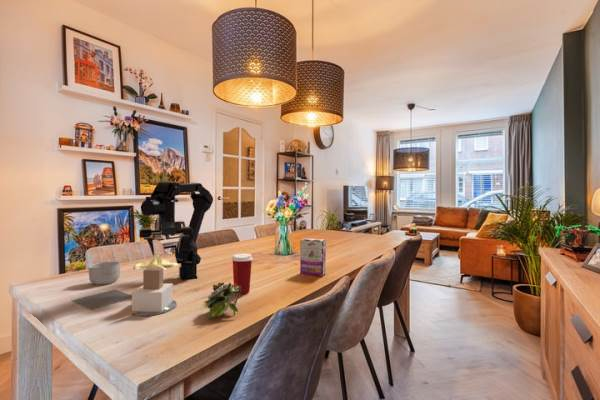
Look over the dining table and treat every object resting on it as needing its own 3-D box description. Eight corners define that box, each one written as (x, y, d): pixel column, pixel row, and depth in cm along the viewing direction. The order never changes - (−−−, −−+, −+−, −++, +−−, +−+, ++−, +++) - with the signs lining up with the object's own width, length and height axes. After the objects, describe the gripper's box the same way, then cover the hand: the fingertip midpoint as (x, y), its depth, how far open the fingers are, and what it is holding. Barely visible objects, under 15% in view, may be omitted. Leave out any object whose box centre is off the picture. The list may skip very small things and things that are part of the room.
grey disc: (173, 297, 107) (173, 286, 107) (179, 311, 95) (179, 298, 95) (128, 303, 100) (128, 292, 100) (128, 319, 88) (128, 306, 88)
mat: (115, 291, 112) (115, 289, 112) (136, 298, 105) (136, 297, 105) (70, 302, 100) (70, 300, 100) (91, 311, 93) (91, 309, 93)
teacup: (104, 288, 115) (104, 267, 114) (80, 286, 117) (80, 265, 117) (132, 278, 128) (132, 259, 128) (110, 276, 130) (110, 258, 130)
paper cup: (255, 290, 116) (256, 254, 115) (245, 297, 109) (246, 258, 108) (237, 288, 118) (238, 252, 118) (226, 294, 111) (227, 256, 111)
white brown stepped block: (145, 301, 102) (145, 265, 102) (172, 301, 102) (173, 265, 102) (131, 311, 93) (132, 272, 93) (161, 311, 93) (161, 273, 93)
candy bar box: (325, 274, 141) (326, 239, 141) (322, 276, 137) (323, 240, 136) (303, 271, 145) (304, 237, 145) (299, 273, 141) (300, 238, 140)
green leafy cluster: (217, 326, 97) (227, 289, 104) (244, 327, 92) (253, 288, 99) (192, 316, 89) (205, 277, 96) (221, 317, 84) (232, 275, 91)
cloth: (126, 268, 147) (126, 255, 147) (160, 261, 163) (161, 249, 162) (153, 275, 135) (153, 262, 135) (188, 267, 151) (188, 255, 151)
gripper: (140, 216, 105) (140, 260, 106) (195, 215, 115) (195, 255, 115) (139, 213, 115) (138, 254, 115) (190, 213, 124) (190, 250, 125)
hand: (166, 254), depth 117 cm, fingers open, 9 cm apart
